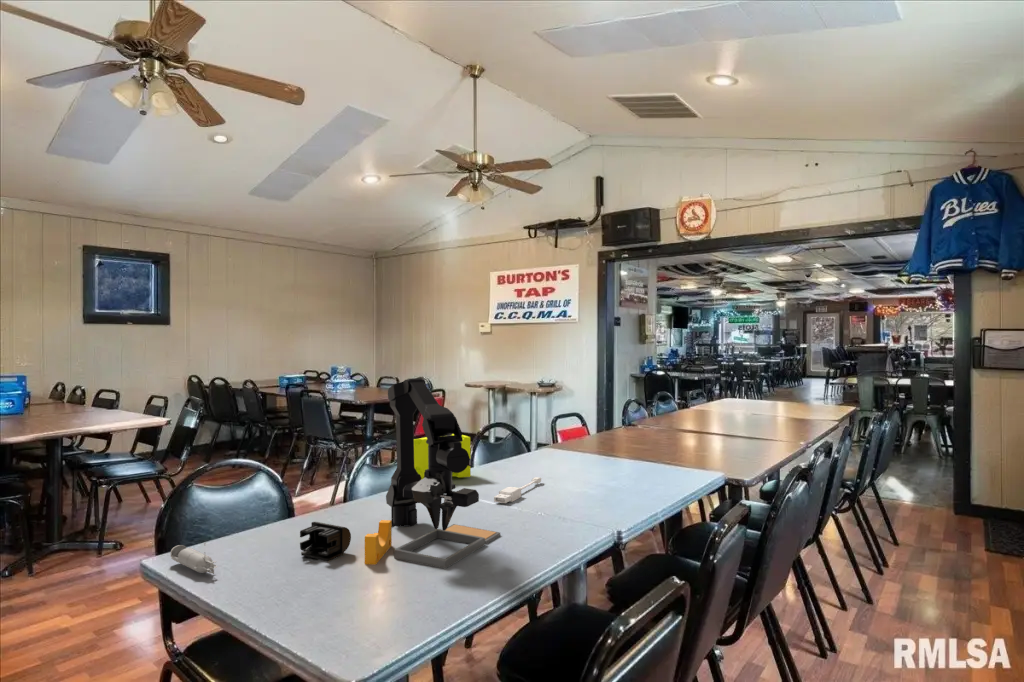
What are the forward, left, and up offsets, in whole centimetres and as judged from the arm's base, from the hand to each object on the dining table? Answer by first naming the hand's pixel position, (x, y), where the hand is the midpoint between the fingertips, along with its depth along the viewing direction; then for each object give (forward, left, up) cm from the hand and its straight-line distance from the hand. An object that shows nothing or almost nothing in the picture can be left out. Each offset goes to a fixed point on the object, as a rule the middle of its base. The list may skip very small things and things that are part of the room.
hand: (440, 529), depth 138 cm
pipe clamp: (-13, -9, -6) cm, 17 cm away
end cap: (-24, -14, -6) cm, 28 cm away
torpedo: (-44, -34, -6) cm, 56 cm away
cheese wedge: (-45, +65, -6) cm, 79 cm away
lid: (0, +13, -5) cm, 14 cm away
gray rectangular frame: (0, 0, -5) cm, 5 cm away
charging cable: (-8, +57, -6) cm, 58 cm away
